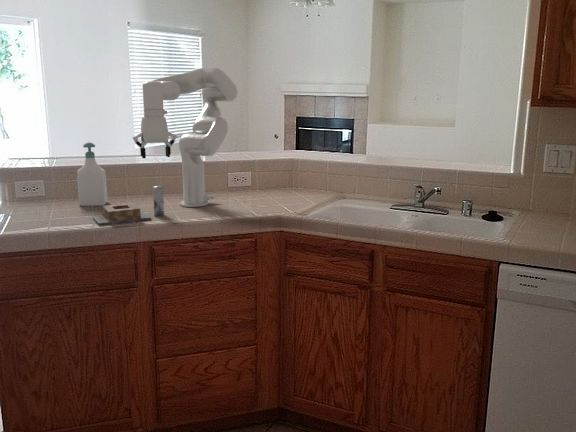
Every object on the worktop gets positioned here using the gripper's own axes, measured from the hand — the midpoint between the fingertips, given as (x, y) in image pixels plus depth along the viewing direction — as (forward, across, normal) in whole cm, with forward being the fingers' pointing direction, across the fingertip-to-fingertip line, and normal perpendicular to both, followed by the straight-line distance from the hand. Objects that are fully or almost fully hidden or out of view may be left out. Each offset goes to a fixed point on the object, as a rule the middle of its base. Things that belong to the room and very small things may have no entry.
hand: (155, 157), depth 218 cm
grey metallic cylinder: (+24, 0, 0) cm, 24 cm away
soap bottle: (+24, +19, -37) cm, 48 cm away
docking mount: (+24, +15, 0) cm, 28 cm away
